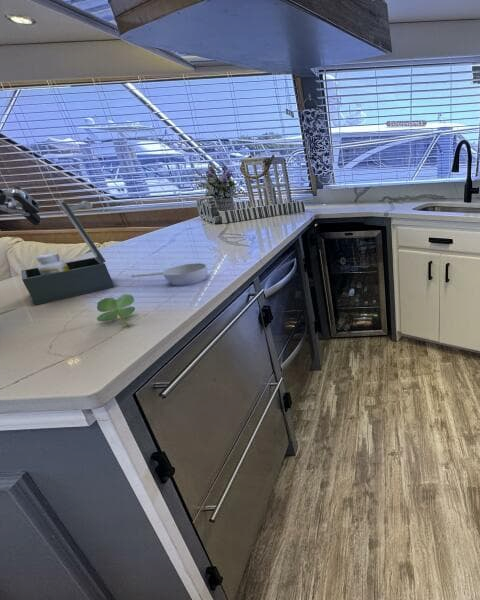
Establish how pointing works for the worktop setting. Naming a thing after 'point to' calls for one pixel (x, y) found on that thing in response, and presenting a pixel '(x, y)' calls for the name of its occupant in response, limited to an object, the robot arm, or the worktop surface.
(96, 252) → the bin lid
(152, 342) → the worktop surface
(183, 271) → the saucepan
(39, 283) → the bin
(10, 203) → the robot arm
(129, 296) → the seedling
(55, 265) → the supplement bottle
